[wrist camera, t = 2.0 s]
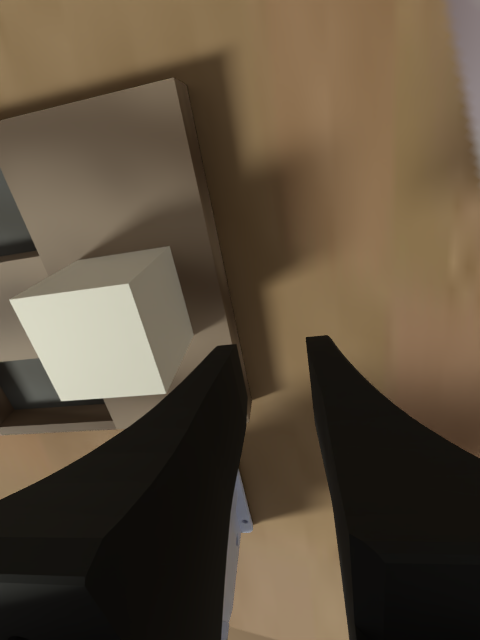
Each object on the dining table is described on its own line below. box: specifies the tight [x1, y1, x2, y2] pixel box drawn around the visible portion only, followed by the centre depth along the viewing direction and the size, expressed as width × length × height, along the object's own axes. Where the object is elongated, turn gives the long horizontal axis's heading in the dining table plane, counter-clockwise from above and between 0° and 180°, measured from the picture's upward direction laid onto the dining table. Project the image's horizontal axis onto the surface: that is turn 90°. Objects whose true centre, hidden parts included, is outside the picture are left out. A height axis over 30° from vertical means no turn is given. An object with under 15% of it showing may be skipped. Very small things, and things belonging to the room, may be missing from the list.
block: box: [9, 246, 194, 401], centre depth 16 cm, size 5×5×5 cm
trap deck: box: [0, 77, 252, 435], centre depth 20 cm, size 18×25×4 cm
